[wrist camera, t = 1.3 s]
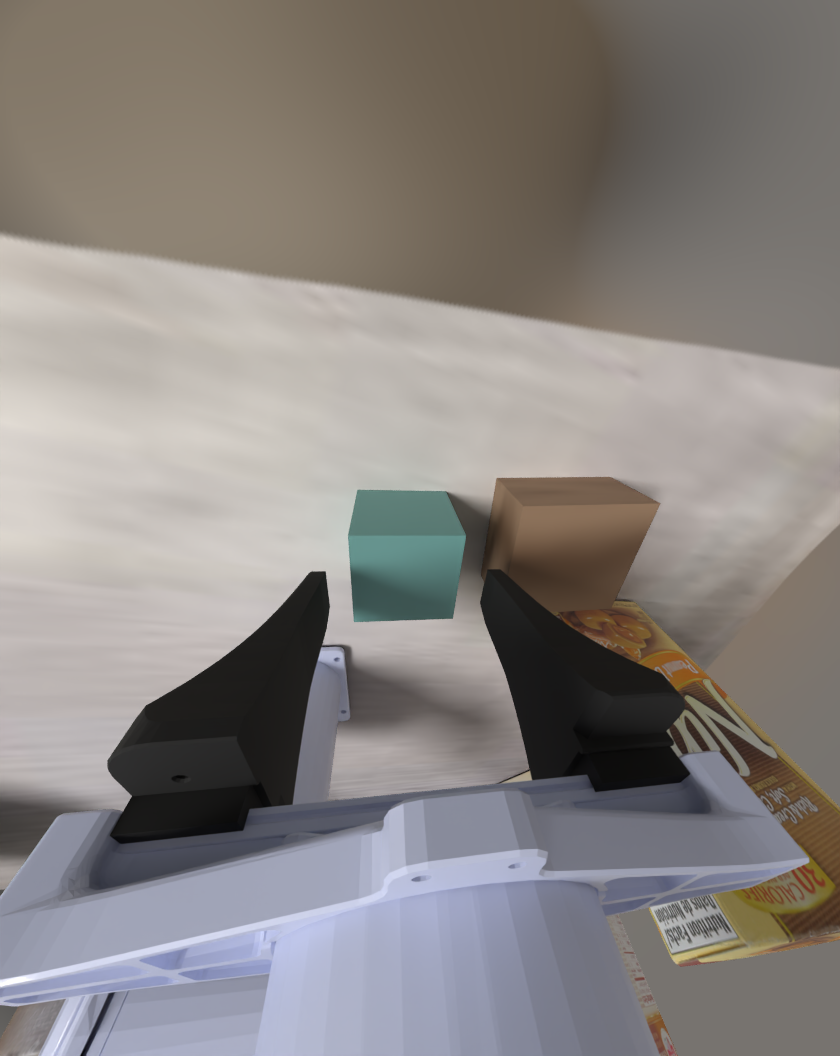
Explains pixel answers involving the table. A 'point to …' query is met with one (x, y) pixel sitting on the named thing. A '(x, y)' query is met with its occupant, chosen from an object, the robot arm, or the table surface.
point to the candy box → (782, 786)
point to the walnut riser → (567, 538)
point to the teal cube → (404, 555)
